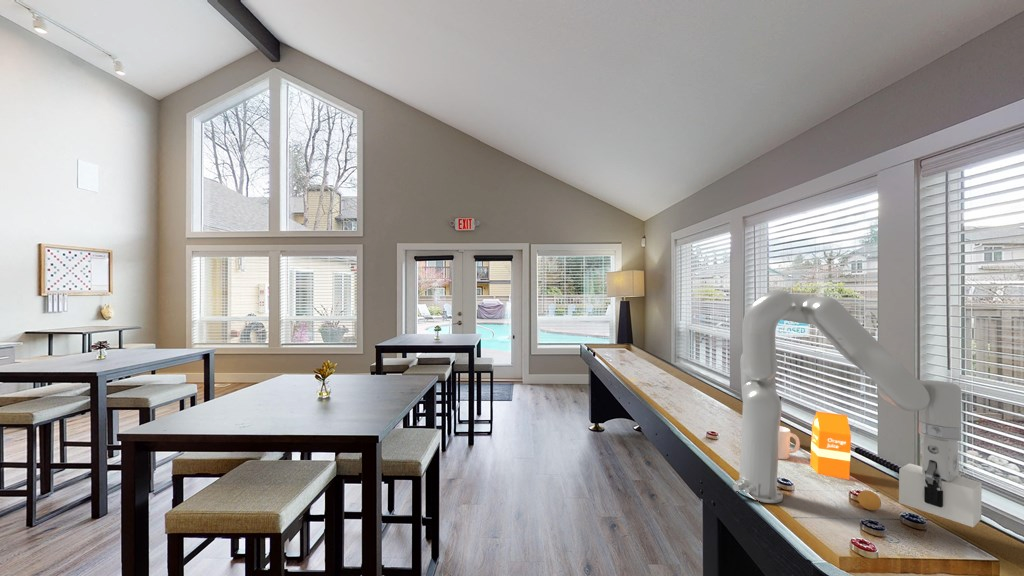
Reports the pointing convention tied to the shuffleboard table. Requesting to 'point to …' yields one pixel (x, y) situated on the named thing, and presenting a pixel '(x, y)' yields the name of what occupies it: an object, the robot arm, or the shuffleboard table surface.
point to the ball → (869, 500)
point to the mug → (786, 443)
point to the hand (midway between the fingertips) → (938, 500)
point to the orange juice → (831, 445)
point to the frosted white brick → (957, 496)
